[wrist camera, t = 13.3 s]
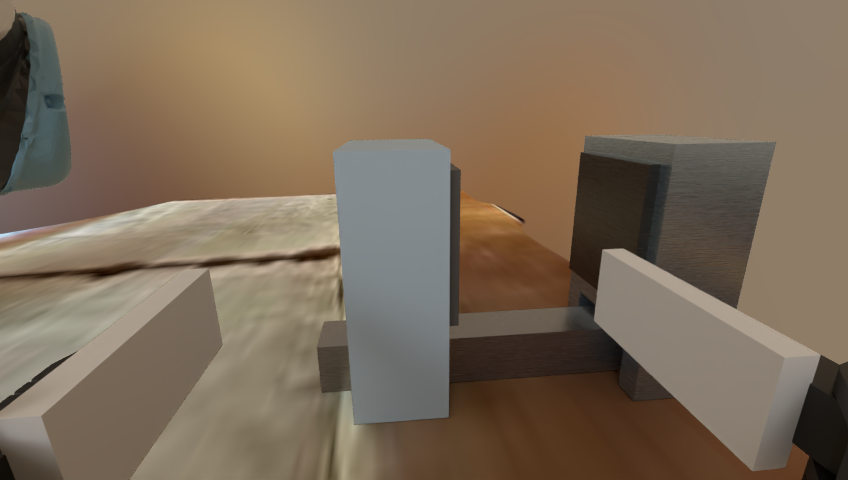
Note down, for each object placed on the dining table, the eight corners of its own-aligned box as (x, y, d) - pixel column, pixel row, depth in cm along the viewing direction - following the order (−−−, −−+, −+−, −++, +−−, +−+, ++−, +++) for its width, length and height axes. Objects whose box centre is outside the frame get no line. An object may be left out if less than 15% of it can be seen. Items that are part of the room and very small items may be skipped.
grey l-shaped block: (313, 427, 21) (282, 152, 17) (333, 340, 29) (315, 141, 25) (716, 394, 23) (776, 142, 19) (628, 321, 31) (656, 134, 27)
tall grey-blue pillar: (459, 416, 22) (464, 148, 17) (354, 424, 21) (332, 151, 17) (439, 334, 30) (438, 138, 26) (363, 338, 29) (350, 140, 25)
